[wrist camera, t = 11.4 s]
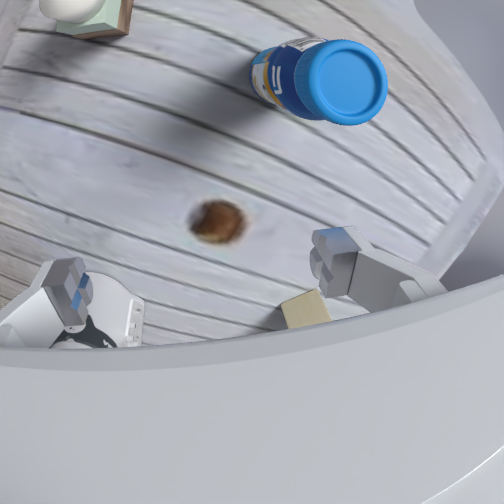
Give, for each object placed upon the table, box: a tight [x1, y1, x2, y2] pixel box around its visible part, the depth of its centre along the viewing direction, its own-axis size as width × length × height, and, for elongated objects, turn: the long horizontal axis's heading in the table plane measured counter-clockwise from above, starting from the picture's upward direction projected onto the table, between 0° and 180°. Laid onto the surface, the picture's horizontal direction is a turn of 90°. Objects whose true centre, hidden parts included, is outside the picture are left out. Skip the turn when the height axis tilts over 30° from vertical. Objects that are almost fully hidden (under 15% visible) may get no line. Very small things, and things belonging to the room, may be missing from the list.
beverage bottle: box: [249, 37, 388, 126], centre depth 25 cm, size 8×8×20 cm
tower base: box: [72, 0, 134, 40], centre depth 22 cm, size 6×6×5 cm
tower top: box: [56, 0, 121, 35], centre depth 18 cm, size 6×6×5 cm
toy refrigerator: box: [281, 289, 332, 329], centre depth 50 cm, size 8×7×21 cm
